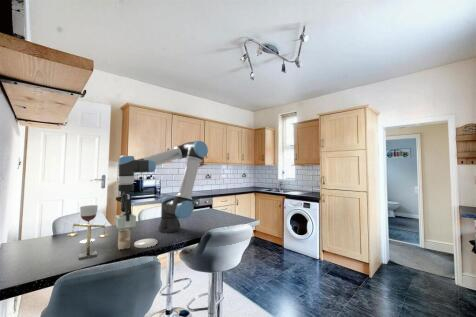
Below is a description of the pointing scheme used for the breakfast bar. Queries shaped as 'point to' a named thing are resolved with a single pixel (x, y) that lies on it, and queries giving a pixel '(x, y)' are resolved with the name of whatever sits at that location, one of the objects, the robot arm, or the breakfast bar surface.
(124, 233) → the block
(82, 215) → the wineglass
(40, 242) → the breakfast bar surface
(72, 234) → the balance
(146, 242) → the dish
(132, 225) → the pale green open box
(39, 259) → the breakfast bar surface
